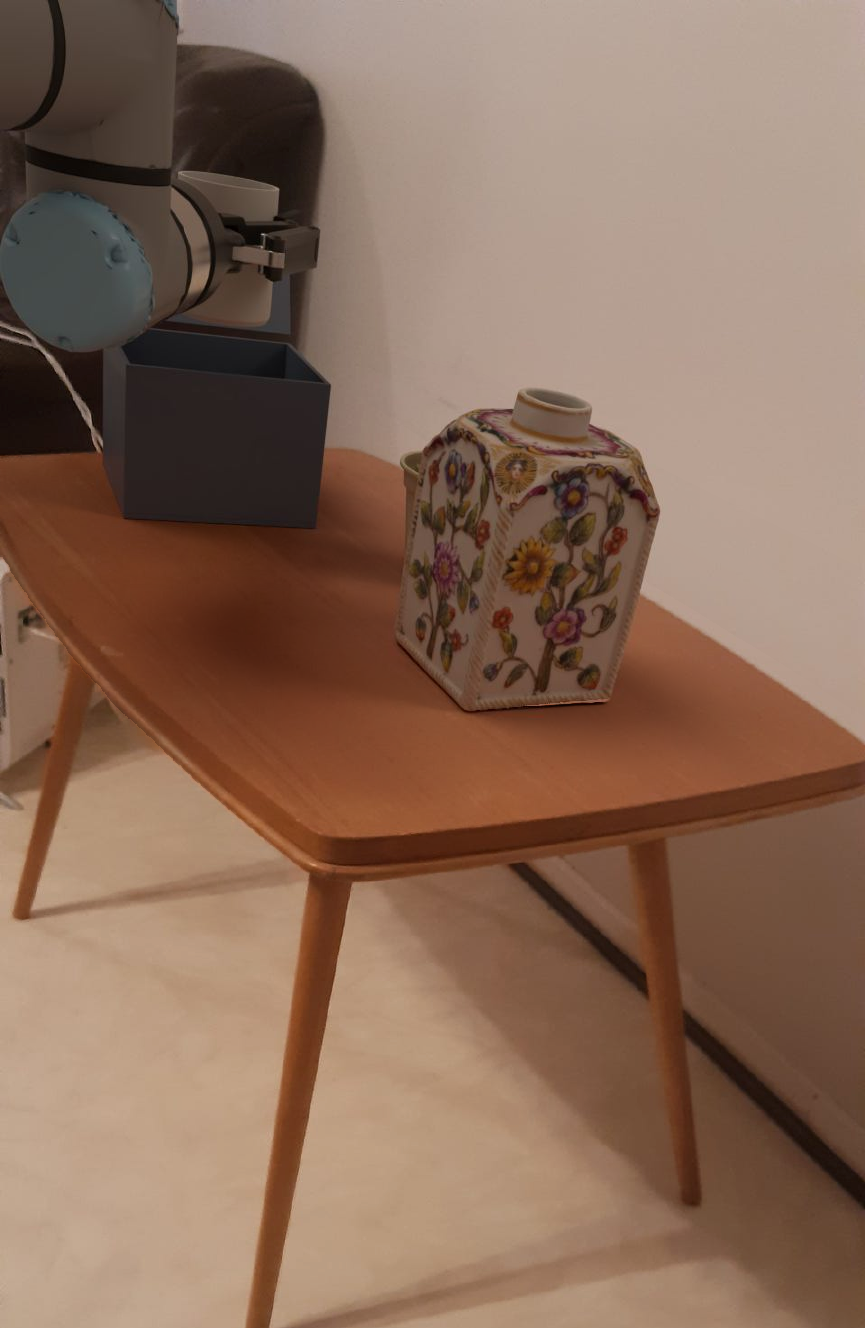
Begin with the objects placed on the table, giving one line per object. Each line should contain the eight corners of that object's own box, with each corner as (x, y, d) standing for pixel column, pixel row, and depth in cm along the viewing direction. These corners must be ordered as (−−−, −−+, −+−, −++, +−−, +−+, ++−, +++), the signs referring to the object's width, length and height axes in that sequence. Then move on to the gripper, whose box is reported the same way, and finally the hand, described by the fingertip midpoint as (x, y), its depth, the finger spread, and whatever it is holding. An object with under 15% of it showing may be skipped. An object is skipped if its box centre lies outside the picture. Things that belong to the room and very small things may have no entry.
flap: (100, 223, 98) (99, 224, 99) (104, 314, 100) (103, 315, 100) (289, 249, 104) (288, 250, 104) (290, 334, 105) (289, 335, 106)
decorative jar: (388, 638, 85) (429, 364, 75) (530, 634, 91) (587, 376, 80) (464, 717, 77) (522, 421, 67) (615, 707, 82) (690, 431, 72)
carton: (123, 518, 97) (125, 364, 90) (102, 464, 107) (103, 322, 100) (315, 528, 102) (331, 384, 96) (278, 476, 112) (290, 343, 106)
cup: (187, 322, 89) (192, 181, 84) (155, 294, 96) (158, 162, 91) (282, 331, 92) (292, 194, 87) (244, 302, 99) (251, 175, 94)
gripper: (-2, 284, 78) (119, 248, 97) (306, 348, 78) (367, 299, 96) (-7, 147, 73) (120, 136, 92) (319, 214, 73) (380, 190, 92)
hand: (246, 220), depth 94 cm, fingers closed on cup, 7 cm apart
